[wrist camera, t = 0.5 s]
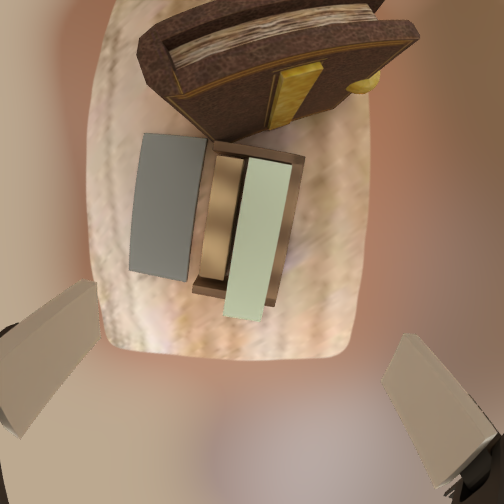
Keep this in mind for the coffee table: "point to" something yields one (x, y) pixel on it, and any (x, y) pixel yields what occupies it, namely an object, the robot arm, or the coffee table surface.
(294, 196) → the frame
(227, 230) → the brown wooden bar
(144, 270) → the mat
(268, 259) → the pale green slab
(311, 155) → the coffee table surface
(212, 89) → the book
